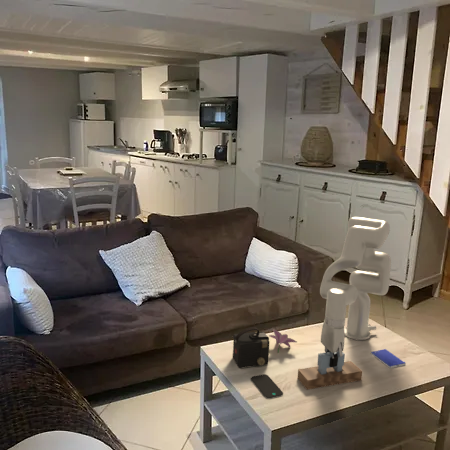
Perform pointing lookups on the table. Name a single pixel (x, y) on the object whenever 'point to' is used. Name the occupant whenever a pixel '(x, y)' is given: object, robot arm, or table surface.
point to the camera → (250, 348)
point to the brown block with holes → (329, 376)
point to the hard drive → (388, 358)
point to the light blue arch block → (328, 362)
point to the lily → (281, 338)
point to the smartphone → (266, 386)
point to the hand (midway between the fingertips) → (330, 363)
